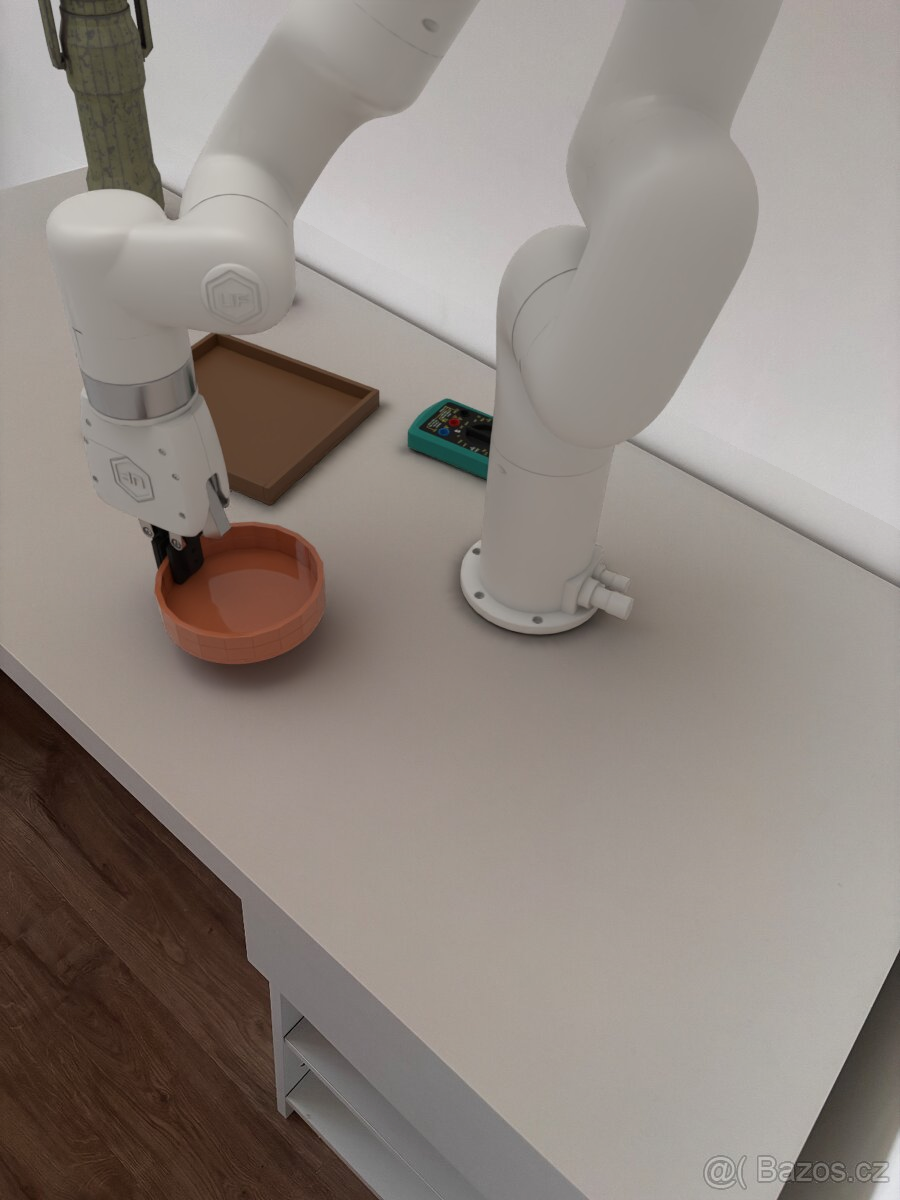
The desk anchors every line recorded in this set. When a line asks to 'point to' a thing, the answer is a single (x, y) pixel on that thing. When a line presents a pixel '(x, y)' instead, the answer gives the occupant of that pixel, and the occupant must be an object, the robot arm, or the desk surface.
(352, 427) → the tray
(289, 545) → the bowl
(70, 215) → the robot arm
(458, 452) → the digital multimeter
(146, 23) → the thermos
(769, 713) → the desk surface
